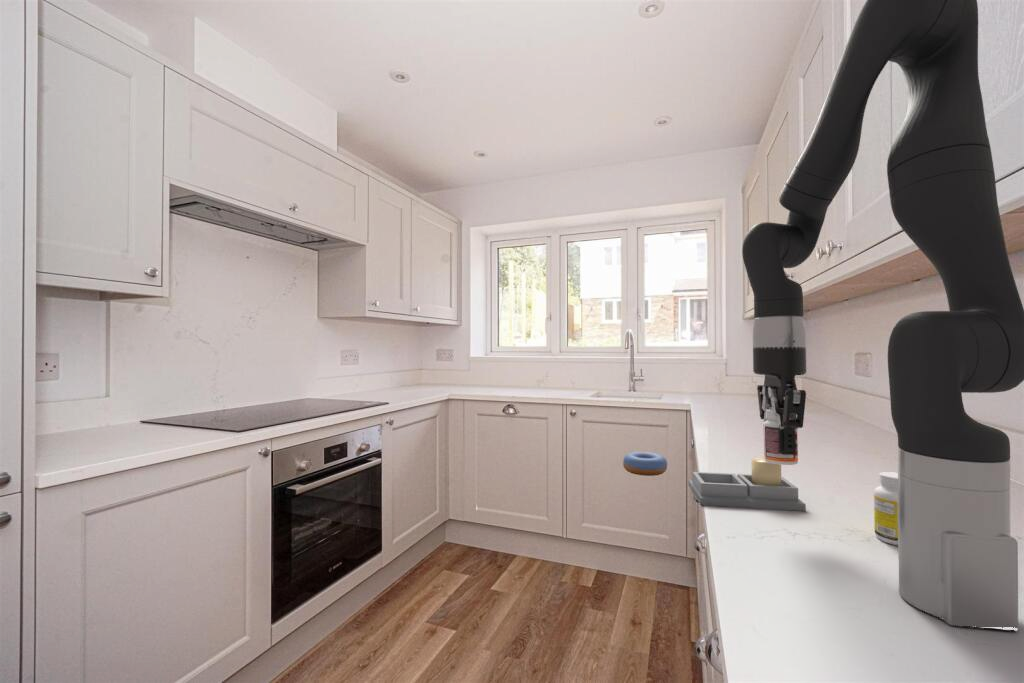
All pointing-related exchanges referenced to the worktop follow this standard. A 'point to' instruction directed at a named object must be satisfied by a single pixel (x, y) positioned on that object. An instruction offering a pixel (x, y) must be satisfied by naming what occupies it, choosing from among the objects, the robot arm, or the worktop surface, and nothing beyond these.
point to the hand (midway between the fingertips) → (780, 450)
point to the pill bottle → (776, 442)
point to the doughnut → (645, 463)
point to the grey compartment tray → (747, 488)
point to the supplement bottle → (886, 508)
